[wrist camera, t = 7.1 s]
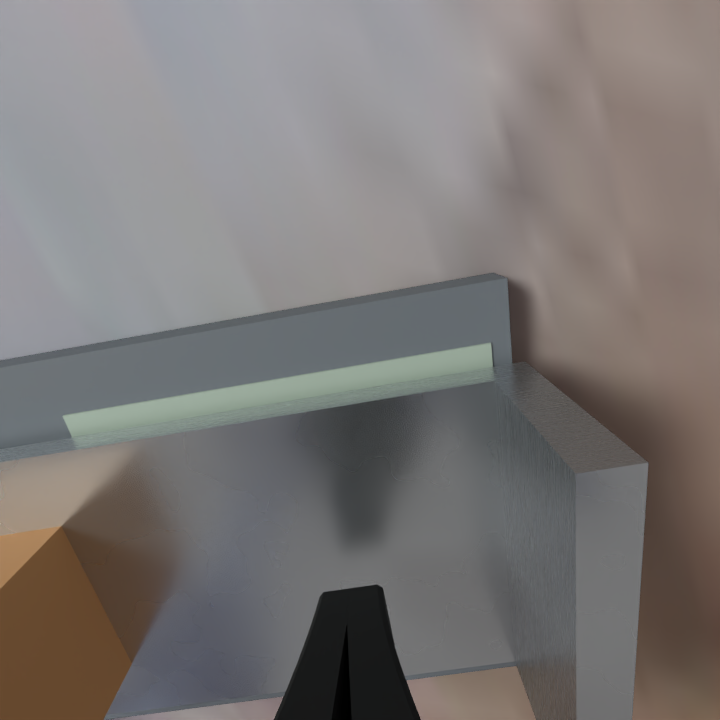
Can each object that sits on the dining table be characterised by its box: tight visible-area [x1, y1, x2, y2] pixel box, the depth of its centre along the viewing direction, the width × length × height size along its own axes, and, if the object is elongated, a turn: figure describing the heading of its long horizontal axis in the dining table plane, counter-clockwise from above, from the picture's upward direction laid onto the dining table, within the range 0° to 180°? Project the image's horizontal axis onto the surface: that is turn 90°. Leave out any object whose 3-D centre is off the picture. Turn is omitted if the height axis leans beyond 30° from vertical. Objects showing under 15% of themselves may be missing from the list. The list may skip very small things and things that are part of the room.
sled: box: [0, 362, 648, 720], centre depth 9 cm, size 9×19×4 cm, turn 100°
